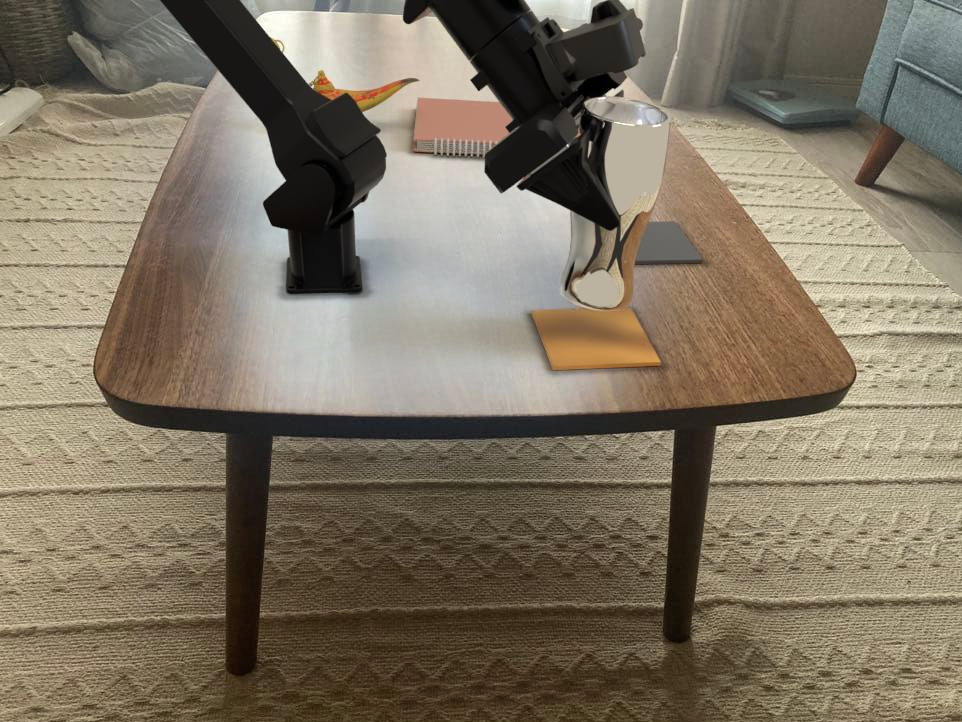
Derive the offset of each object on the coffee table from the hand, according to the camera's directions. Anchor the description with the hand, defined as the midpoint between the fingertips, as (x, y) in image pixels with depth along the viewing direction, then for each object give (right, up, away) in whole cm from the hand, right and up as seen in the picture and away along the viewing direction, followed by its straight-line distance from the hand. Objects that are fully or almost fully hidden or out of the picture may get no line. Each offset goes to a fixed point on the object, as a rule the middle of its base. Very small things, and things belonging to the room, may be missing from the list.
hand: (626, 210), depth 71 cm
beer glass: (-2, -6, +5) cm, 8 cm away
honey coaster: (-2, -9, +7) cm, 12 cm away
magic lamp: (-31, +18, +43) cm, 56 cm away
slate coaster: (+4, +1, +23) cm, 24 cm away
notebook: (-9, +19, +47) cm, 51 cm away
